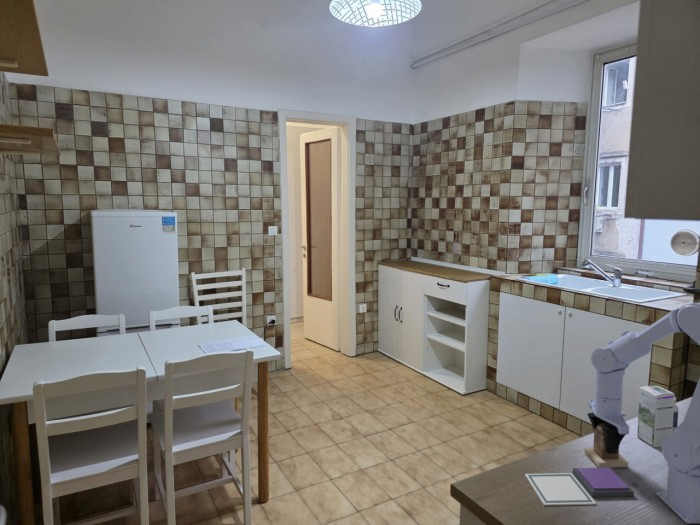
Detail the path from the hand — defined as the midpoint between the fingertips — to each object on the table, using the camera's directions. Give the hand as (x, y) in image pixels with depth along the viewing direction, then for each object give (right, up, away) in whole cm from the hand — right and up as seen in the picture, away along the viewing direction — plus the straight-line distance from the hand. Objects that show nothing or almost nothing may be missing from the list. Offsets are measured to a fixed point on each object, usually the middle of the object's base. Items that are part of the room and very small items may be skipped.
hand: (606, 447), depth 113 cm
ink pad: (-6, -5, -9) cm, 12 cm away
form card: (-17, -5, -10) cm, 20 cm away
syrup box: (+18, -2, +9) cm, 20 cm away
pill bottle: (+25, -1, +15) cm, 29 cm away
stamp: (0, -3, 0) cm, 3 cm away
